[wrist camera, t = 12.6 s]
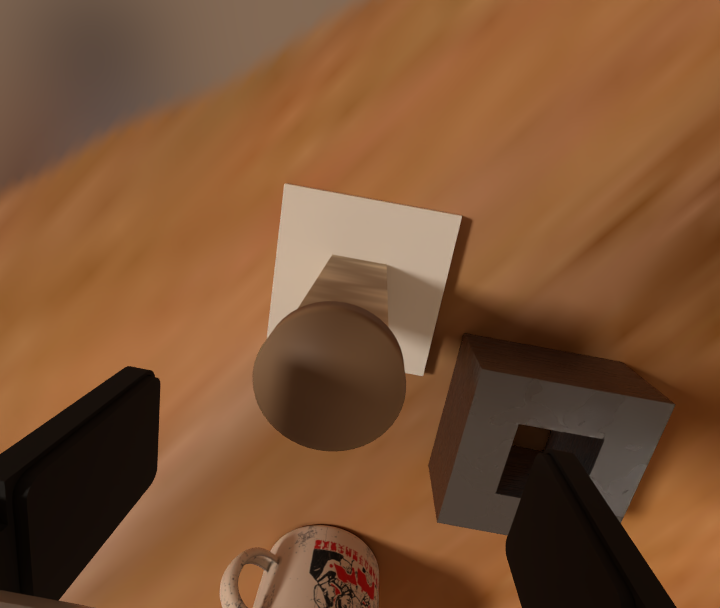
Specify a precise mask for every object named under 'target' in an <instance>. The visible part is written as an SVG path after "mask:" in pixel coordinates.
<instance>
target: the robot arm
mask: <svg viewBox="0 0 720 608" xmlns="http://www.w3.org/2000/svg"><path fill="white" fill-rule="evenodd" d="M159 406H160V380H159V379H158V378H156V377H155V375H154V372H153V371H151V370H146V369H141V368H136V367H131V366H127V367H125V368H124V369H122V370H121V371H119V372H118V373H116V374H115V375H113V376H112V377H111V378H109V379H108V380H106V381H105V382H103V383H102V384H101V385H99V386H98V387H96V388H95V389H93V390H92V391H90V392H89V393H88V394H86V395H85V396H83V397H82V398H80V399H79V400H78V401H76V402H75V403H73V404H72V405H70V406H69V407H67V408H66V409H65V410H63V411H62V412H60V413H59V414H57V415H56V416H55V417H53V418H52V419H50V420H49V421H47V422H46V423H44V424H43V425H42V426H40V427H39V428H37V429H36V430H34V431H33V432H32V433H30V434H29V435H27V436H26V437H24V438H23V439H21V440H20V441H19V442H17V443H16V444H14V445H13V446H11V447H10V448H9V449H7V450H6V451H4V452H3V453H1V454H0V608H94V607H89V606H84V605H79V604H74V603H68V602H63V601H58V600H59V599H60V598H61V597H62V595H63V594H64V593H65V592H66V590H67V589H68V588H69V587H70V585H71V584H72V583H73V582H74V580H75V579H76V578H77V577H78V575H79V574H80V573H81V572H82V570H83V569H84V568H85V567H86V565H87V564H88V563H89V562H90V560H91V559H92V558H93V557H94V555H95V554H96V553H97V552H98V550H99V549H100V548H101V547H102V545H103V544H104V543H105V541H106V540H107V539H108V538H109V536H110V535H111V534H112V533H113V531H114V530H115V529H116V528H117V526H118V525H119V524H120V523H121V521H122V520H123V519H124V518H125V516H126V515H127V514H128V513H129V511H130V510H131V509H132V508H133V506H134V505H135V504H136V503H137V501H138V500H139V499H140V498H141V496H142V495H143V494H144V493H145V491H146V490H147V489H148V488H149V486H150V485H151V484H152V482H153V480H154V478H155V475H156V472H157V460H158V433H159ZM506 556H507V560H508V563H509V566H510V570H511V573H512V576H513V580H514V583H515V586H516V590H517V593H518V596H519V599H520V603H521V606H522V608H676V606H675V605H674V603H673V601H672V600H671V598H670V597H669V595H668V594H667V592H666V591H665V589H664V588H663V586H662V585H661V583H660V582H659V580H658V579H657V577H656V576H655V574H654V573H653V571H652V570H651V568H650V567H649V565H648V564H647V562H646V561H645V559H644V558H643V556H642V555H641V553H640V552H639V550H638V549H637V547H636V546H635V544H634V543H633V541H632V540H631V538H630V537H629V535H628V534H627V532H626V531H625V529H624V528H623V526H622V525H621V523H620V522H619V520H618V519H617V517H616V516H615V514H614V513H613V511H612V510H611V508H610V507H609V505H608V504H607V502H606V501H605V499H604V498H603V496H602V495H601V493H600V492H599V490H598V489H597V487H596V486H595V484H594V483H593V481H592V480H591V478H590V477H589V475H588V474H587V472H586V471H585V469H584V468H583V466H582V465H581V463H580V462H579V460H578V459H577V457H576V456H575V455H574V454H573V453H570V452H564V451H559V450H554V449H546V450H545V451H544V453H538V454H537V455H536V457H535V460H534V463H533V465H532V468H531V471H530V474H529V477H528V480H527V482H526V485H525V488H524V491H523V494H522V497H521V499H520V502H519V505H518V508H517V511H516V514H515V516H514V519H513V522H512V525H511V528H510V531H509V533H508V536H507V540H506Z"/></svg>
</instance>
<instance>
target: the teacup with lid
mask: <svg viewBox="0 0 720 608" xmlns="http://www.w3.org/2000/svg"><path fill="white" fill-rule="evenodd" d="M245 564H254V565H257V566H259V567H261V568H262V569H264V572H263V576H262V579H261V582H260V586H259V589H258V592H257V595H256V599H255V602H254V605H253V608H379V569H378V564H377V561H376V558H375V556H374V554H373V553H372V551H371V550H370V548H369V547H368V546H367V545H366V544H365V543H364V542H363V541H362V540H361V539H359V538H358V537H357V536H355V535H354V534H352V533H350V532H348V531H346V530H343V529H340V528H337V527H333V526H326V525H311V526H305V527H301V528H298V529H295V530H293V531H291V532H289V533H287V534H286V535H284V536H283V537H281V538H280V539H279V540H278V541H277V542H276V543H275V545H274V546H273V548H272V549H271V551H268V550H266V549H263V548H251V549H248V550H246V551H244V552H242V553H241V554H240V555H238V556H237V557H236V558H235V559H234V560H233V561H232V562H231V563H230V564H229V566H228V567H227V569H226V570H225V572H224V575H223V577H222V580H221V585H220V600H221V604H222V607H223V608H247V606H246V605H245V604H244V603H243V601H242V599H241V597H240V594H239V590H238V578H239V574H240V572H241V570H242V568H243V566H244V565H245Z"/></svg>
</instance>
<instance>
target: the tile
mask: <svg viewBox="0 0 720 608" xmlns="http://www.w3.org/2000/svg"><path fill="white" fill-rule="evenodd" d="M461 219H462V216H461V215H458V214H453V213H447V212H442V211H436V210H431V209H425V208H420V207H415V206H409V205H404V204H398V203H393V202H387V201H382V200H376V199H371V198H365V197H360V196H354V195H349V194H343V193H338V192H332V191H327V190H321V189H316V188H311V187H305V186H300V185H294V184H289V183H286V184H284V192H283V201H282V209H281V218H280V227H279V236H278V245H277V253H276V262H275V271H274V280H273V289H272V297H271V306H270V315H269V324H268V333H267V338H268V337H269V335H270V334H271V332H272V331H273V330H274V328H275V327H276V325H277V324H278V323H279V322H280V321H281V320H282V319H283V318H284V317H286V316H287V315H288V314H290V313H291V312H293V311H294V310H296V309H298V307H299V306H300V304H301V302H302V301H303V299H304V298H305V296H306V295H307V293H308V292H309V290H310V288H311V287H312V285H313V284H314V282H315V281H316V279H317V278H318V276H319V274H320V273H321V271H322V270H323V268H324V267H325V265H326V264H327V262H328V260H329V259H330V257H331V256H332V254H333V255H338V256H344V257H349V258H354V259H360V260H365V261H371V262H376V263H381V264H387V291H388V327H389V329H390V330H391V331H392V332H393V334H394V336H395V337H396V339H397V341H398V343H399V345H400V348H401V351H402V355H403V360H404V368H405V373H409V374H414V375H420V376H423V374H424V370H425V366H426V362H427V358H428V354H429V350H430V345H431V341H432V337H433V333H434V329H435V325H436V321H437V317H438V313H439V309H440V305H441V301H442V296H443V292H444V288H445V284H446V280H447V276H448V272H449V268H450V264H451V260H452V256H453V252H454V247H455V243H456V239H457V235H458V231H459V227H460V223H461Z"/></svg>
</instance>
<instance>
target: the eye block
mask: <svg viewBox="0 0 720 608" xmlns="http://www.w3.org/2000/svg"><path fill="white" fill-rule="evenodd" d="M674 407H675V404H674V403H673V402H672V401H670V400H669V399H668V398H667V397H665V396H664V395H663V394H662V393H660V392H659V391H658V390H656V389H655V388H654V387H653V386H651V385H650V384H649V383H648V382H646V381H645V380H644V379H643V378H641V377H640V376H639V375H638V374H636V373H635V372H634V371H633V370H631V369H630V368H629V367H627V366H626V365H625V364H624V363H622V362H618V361H613V360H607V359H602V358H596V357H591V356H585V355H580V354H574V353H569V352H564V351H558V350H553V349H547V348H542V347H536V346H531V345H525V344H520V343H514V342H509V341H503V340H498V339H492V338H487V337H482V336H476V335H471V334H465V333H464V335H463V339H462V342H461V346H460V350H459V353H458V357H457V361H456V365H455V368H454V372H453V376H452V379H451V383H450V387H449V391H448V394H447V398H446V402H445V405H444V409H443V413H442V417H441V420H440V424H439V428H438V431H437V435H436V439H435V443H434V446H433V450H432V454H431V458H430V461H429V465H428V466H429V472H430V479H431V485H432V492H433V499H434V505H435V512H436V518H437V523H443V524H448V525H454V526H459V527H465V528H470V529H475V530H481V531H486V532H492V533H497V534H503V535H508V533H509V531H510V528H511V525H512V522H513V519H514V516H515V514H516V511H517V508H518V505H519V502H520V499H521V497H522V494H523V491H524V488H525V485H526V482H527V480H528V477H529V474H530V471H531V468H532V465H533V463H534V460H535V457H536V455H537V454H538V453H544V452H542V451H536V450H531V449H525V448H520V447H514V446H512V443H513V440H514V437H515V434H516V431H517V428H518V425H519V424H522V425H528V426H533V427H539V428H544V429H550V430H551V433H550V436H549V439H548V441H547V444H546V447H545V450H546V449H554V450H559V451H564V452H570V453H573V454H574V455H575V456H576V457H577V459H578V460H579V462H580V463H581V465H582V466H583V468H584V469H585V471H586V472H587V474H588V475H589V477H590V478H591V480H592V481H593V483H594V484H595V486H596V487H597V489H598V490H599V492H600V493H601V495H602V496H603V498H604V499H605V501H606V502H607V504H608V505H609V507H610V508H611V510H612V511H613V513H614V514H615V516H616V517H617V519H618V520H619V522H620V523H621V521H622V519H623V517H624V515H625V513H626V511H627V508H628V506H629V504H630V502H631V500H632V498H633V495H634V493H635V491H636V489H637V487H638V485H639V482H640V480H641V478H642V476H643V474H644V472H645V469H646V467H647V465H648V463H649V461H650V459H651V456H652V454H653V452H654V450H655V448H656V446H657V443H658V441H659V439H660V437H661V435H662V433H663V430H664V428H665V426H666V424H667V422H668V420H669V418H670V415H671V413H672V411H673V409H674ZM545 450H544V451H545Z"/></svg>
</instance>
